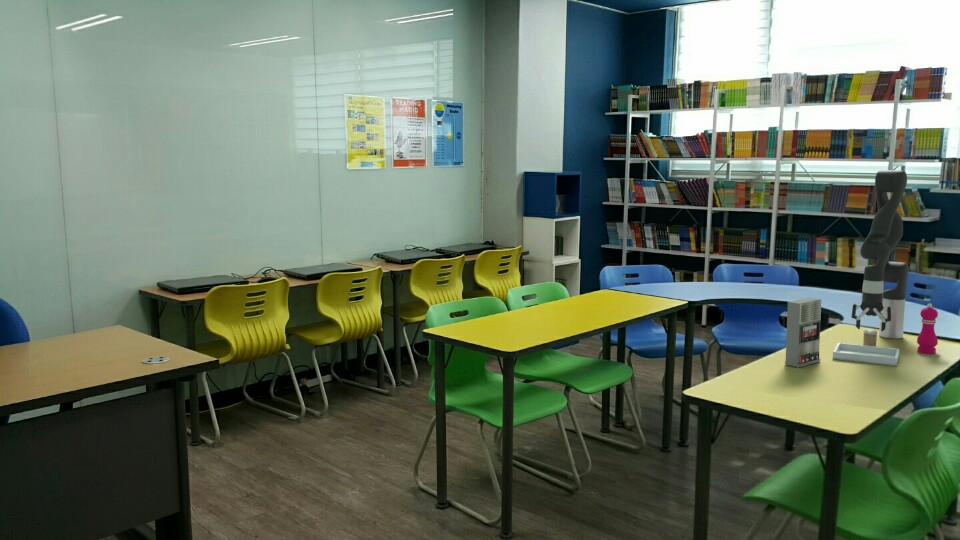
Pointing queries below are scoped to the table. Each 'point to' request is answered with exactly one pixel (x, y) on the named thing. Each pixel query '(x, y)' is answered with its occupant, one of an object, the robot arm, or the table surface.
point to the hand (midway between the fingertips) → (870, 329)
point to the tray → (866, 354)
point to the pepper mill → (928, 331)
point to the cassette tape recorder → (803, 332)
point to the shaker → (870, 337)
